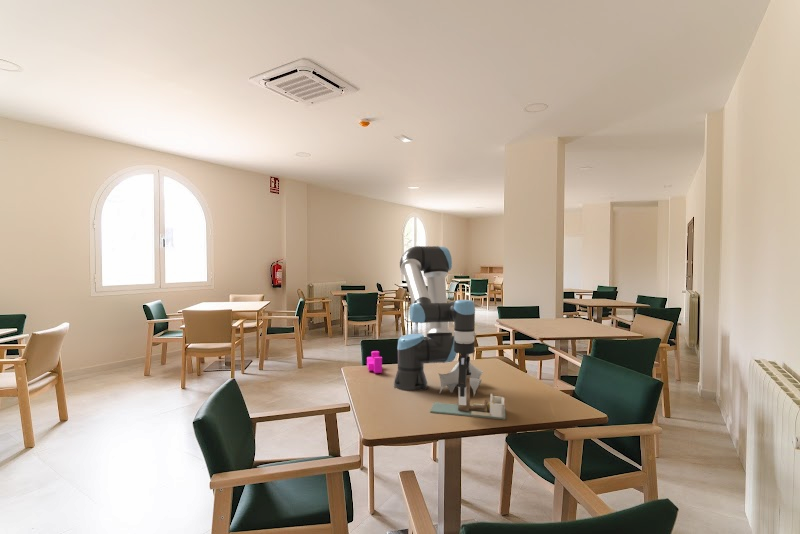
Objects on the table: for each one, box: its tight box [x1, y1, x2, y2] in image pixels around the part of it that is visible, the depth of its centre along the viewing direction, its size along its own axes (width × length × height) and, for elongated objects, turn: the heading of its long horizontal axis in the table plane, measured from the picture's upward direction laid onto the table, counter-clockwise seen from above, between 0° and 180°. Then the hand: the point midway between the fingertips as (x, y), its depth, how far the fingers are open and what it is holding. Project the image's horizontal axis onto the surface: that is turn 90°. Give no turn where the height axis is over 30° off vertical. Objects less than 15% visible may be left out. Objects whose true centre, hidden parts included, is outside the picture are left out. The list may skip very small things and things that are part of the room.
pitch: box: [429, 401, 507, 421], centre depth 148 cm, size 27×9×2 cm, turn 76°
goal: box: [489, 393, 505, 418], centre depth 145 cm, size 5×9×5 cm, turn 166°
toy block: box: [366, 350, 383, 374], centre depth 206 cm, size 15×6×8 cm, turn 10°
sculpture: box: [438, 361, 484, 396], centre depth 177 cm, size 25×19×10 cm
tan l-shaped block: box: [457, 375, 489, 413], centre depth 148 cm, size 10×6×12 cm, turn 76°
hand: (464, 398), depth 148 cm, fingers open, 13 cm apart
